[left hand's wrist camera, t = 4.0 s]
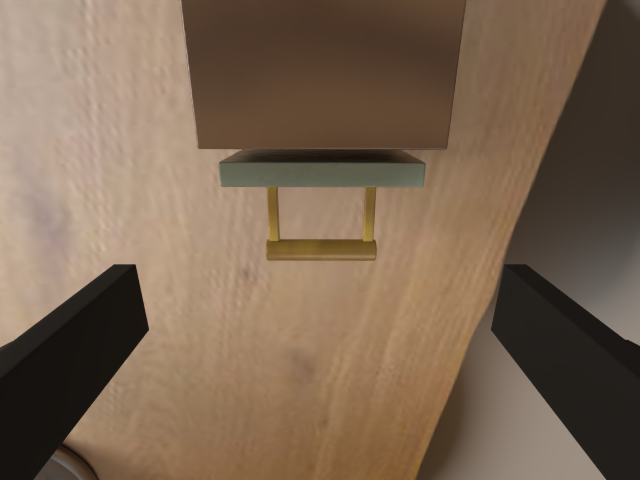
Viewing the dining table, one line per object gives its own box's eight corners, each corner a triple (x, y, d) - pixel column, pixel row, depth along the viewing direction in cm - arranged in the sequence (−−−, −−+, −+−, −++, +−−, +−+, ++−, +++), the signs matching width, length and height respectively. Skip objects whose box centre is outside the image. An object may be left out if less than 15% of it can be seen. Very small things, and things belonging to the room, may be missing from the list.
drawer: (385, 236, 27) (412, 288, 19) (255, 236, 27) (230, 288, 19) (417, -188, 18) (488, -399, 11) (227, -189, 18) (160, -402, 11)
